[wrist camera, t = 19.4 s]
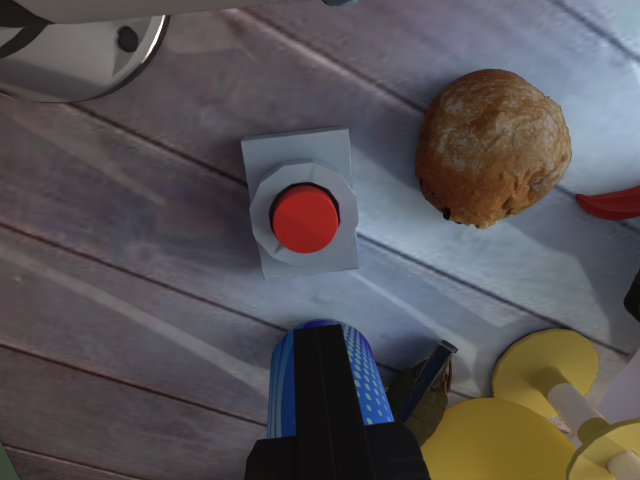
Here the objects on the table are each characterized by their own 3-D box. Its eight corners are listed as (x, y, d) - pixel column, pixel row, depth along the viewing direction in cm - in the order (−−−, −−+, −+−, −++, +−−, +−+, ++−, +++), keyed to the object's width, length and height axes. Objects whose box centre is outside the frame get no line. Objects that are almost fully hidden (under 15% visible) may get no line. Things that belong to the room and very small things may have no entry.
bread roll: (528, 131, 33) (623, 90, 25) (493, 249, 32) (583, 245, 24) (423, 77, 31) (492, 15, 23) (381, 201, 30) (439, 179, 22)
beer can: (256, 377, 35) (235, 592, 20) (294, 297, 33) (301, 473, 18) (344, 404, 37) (383, 618, 22) (386, 329, 35) (462, 514, 20)
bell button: (269, 189, 26) (268, 196, 24) (332, 181, 26) (335, 188, 24) (278, 247, 27) (277, 257, 26) (337, 239, 28) (340, 249, 26)
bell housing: (243, 137, 28) (236, 144, 24) (344, 125, 28) (352, 131, 25) (265, 268, 32) (262, 292, 28) (354, 257, 32) (363, 279, 28)
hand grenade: (420, 457, 36) (479, 359, 35) (403, 479, 31) (472, 365, 30) (374, 420, 38) (429, 327, 37) (351, 435, 33) (414, 328, 32)
